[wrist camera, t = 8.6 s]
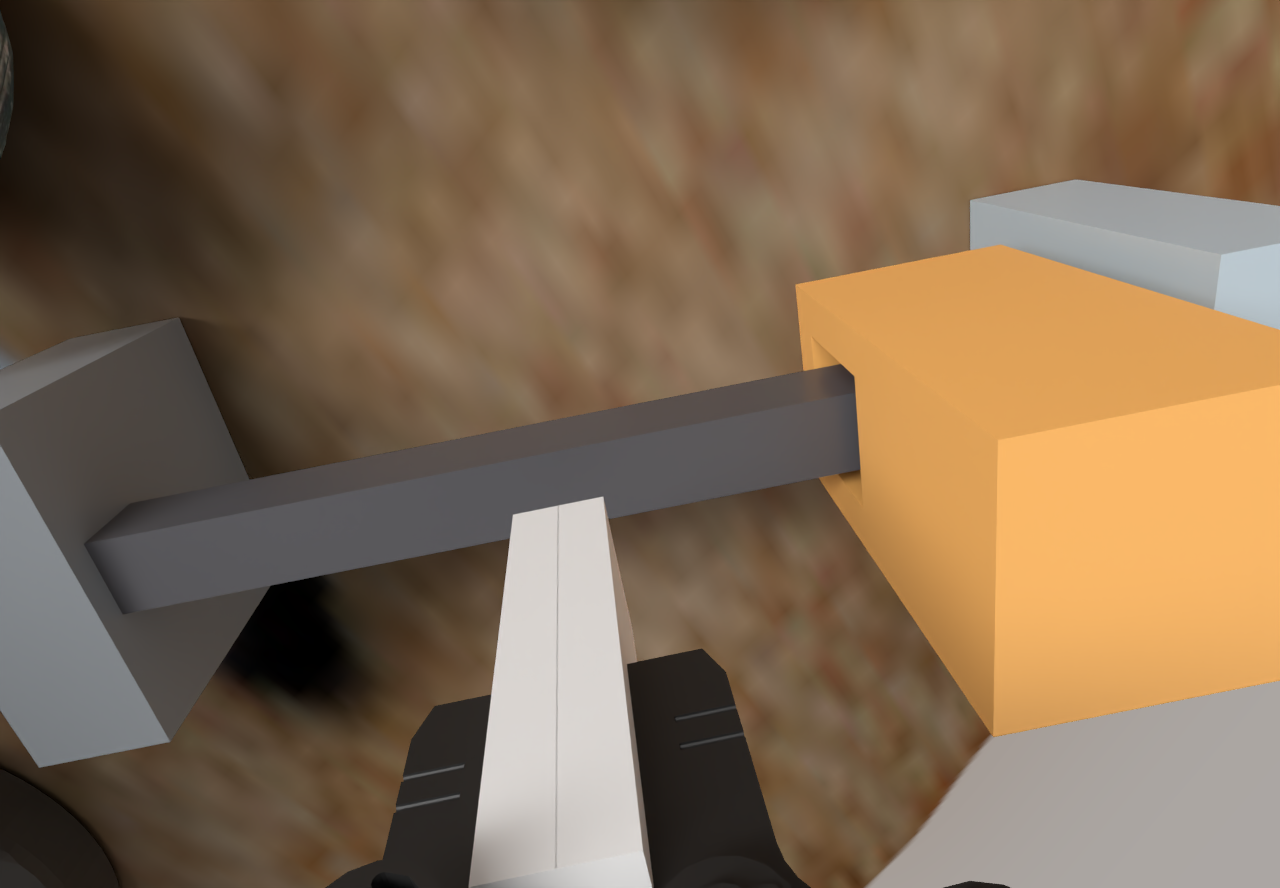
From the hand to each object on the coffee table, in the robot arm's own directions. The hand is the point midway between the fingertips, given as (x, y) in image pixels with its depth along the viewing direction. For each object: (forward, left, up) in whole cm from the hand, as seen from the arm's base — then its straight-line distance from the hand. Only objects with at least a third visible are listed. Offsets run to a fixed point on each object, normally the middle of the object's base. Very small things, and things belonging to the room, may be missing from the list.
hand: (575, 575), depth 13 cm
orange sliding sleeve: (+8, 0, -7) cm, 11 cm away
